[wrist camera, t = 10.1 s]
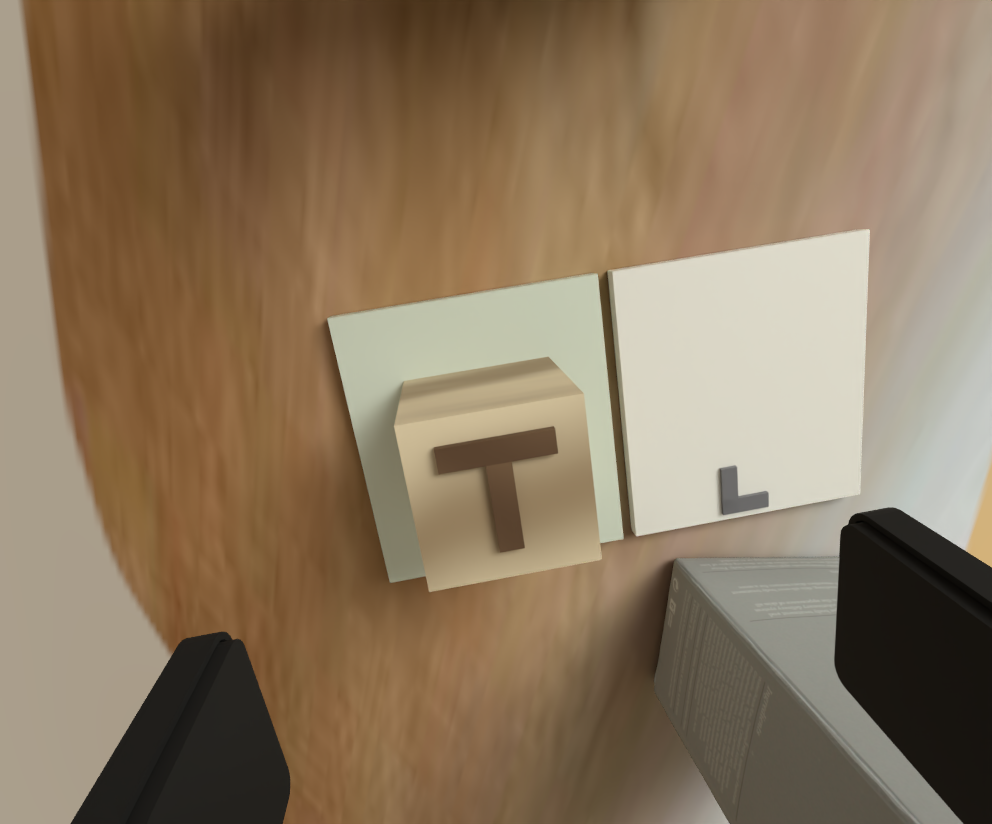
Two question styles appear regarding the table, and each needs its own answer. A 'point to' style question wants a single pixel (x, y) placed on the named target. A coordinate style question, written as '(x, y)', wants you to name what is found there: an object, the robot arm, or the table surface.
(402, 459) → the letter cube
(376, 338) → the pad
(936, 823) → the skincare box
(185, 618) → the table surface
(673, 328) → the pad
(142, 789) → the robot arm
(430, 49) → the table surface
